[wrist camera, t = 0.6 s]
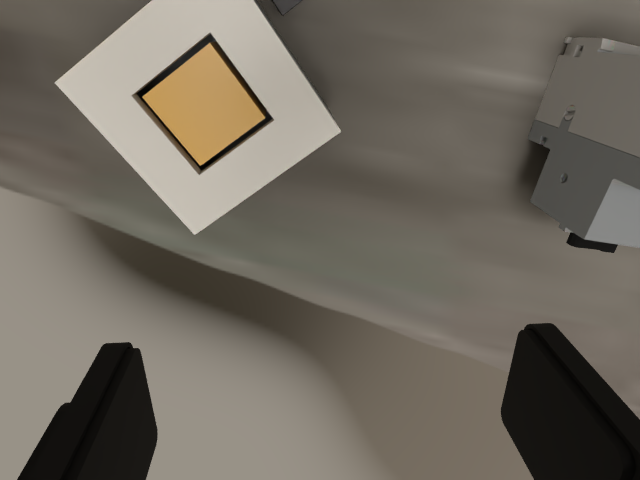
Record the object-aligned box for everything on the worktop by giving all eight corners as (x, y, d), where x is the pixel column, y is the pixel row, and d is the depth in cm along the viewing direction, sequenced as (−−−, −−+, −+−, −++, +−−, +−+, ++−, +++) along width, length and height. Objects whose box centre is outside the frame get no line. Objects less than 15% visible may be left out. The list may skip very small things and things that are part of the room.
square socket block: (233, -35, 32) (216, -55, 24) (328, 108, 37) (341, 131, 29) (108, 69, 34) (54, 82, 26) (212, 191, 39) (194, 234, 31)
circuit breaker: (502, 204, 42) (609, 290, 28) (565, 36, 36) (737, 42, 22) (576, 216, 43) (712, 304, 29) (648, 55, 37) (860, 72, 23)
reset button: (219, 40, 30) (209, 42, 26) (267, 106, 32) (265, 117, 28) (160, 87, 31) (142, 97, 27) (210, 148, 33) (200, 166, 29)
